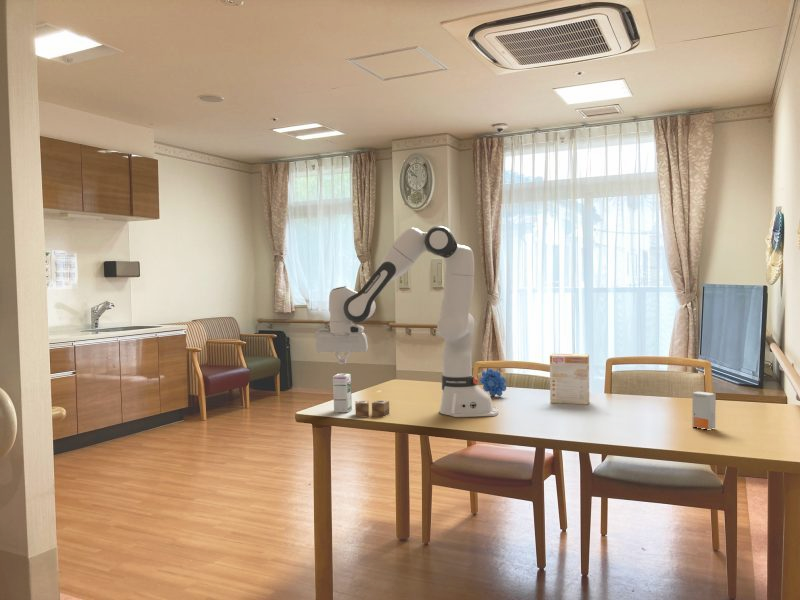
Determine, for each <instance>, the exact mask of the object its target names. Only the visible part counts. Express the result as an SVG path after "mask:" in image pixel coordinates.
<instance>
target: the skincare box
mask: <svg viewBox="0 0 800 600" xmlns="http://www.w3.org/2000/svg"><path fill="white" fill-rule="evenodd" d="M716 397H717V394H716V393H713V392H712V393H711V392H705V391H694V392H692V410H691V413H692V415H691V416H692V419H691V420H692V421H691V422H692V423H691V427H692V428H693V427H698V428H705V429H712V428H715V429H716V401H717V400H716V399H717V398H716ZM698 428H697V429H698Z"/></svg>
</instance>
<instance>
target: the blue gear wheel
mask: <svg viewBox="0 0 800 600" xmlns="http://www.w3.org/2000/svg"><path fill="white" fill-rule="evenodd" d="M481 376H482V377H480V380H479V382H480V384H481V385H483V386H482V389H483V390H484V391H485V392H486V393H488V394H489V395H490V397H495V396H496V395H497V396H498V397H500V396H502V395H503V392H506V390H507V385H505V384H506V378H505V377H503V376H502V375H501V372H500V371H499V370H493V369H492V368H488V369H487V370H486V371H485V370H483V371H482V372H481Z"/></svg>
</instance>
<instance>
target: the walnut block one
mask: <svg viewBox="0 0 800 600" xmlns="http://www.w3.org/2000/svg"><path fill="white" fill-rule="evenodd" d="M354 402H355V404H354V405H355V417H356V416H369V417H370V407H369V405H370V404H369V403H370V402H369V401H368V400H356V401H354Z"/></svg>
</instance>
